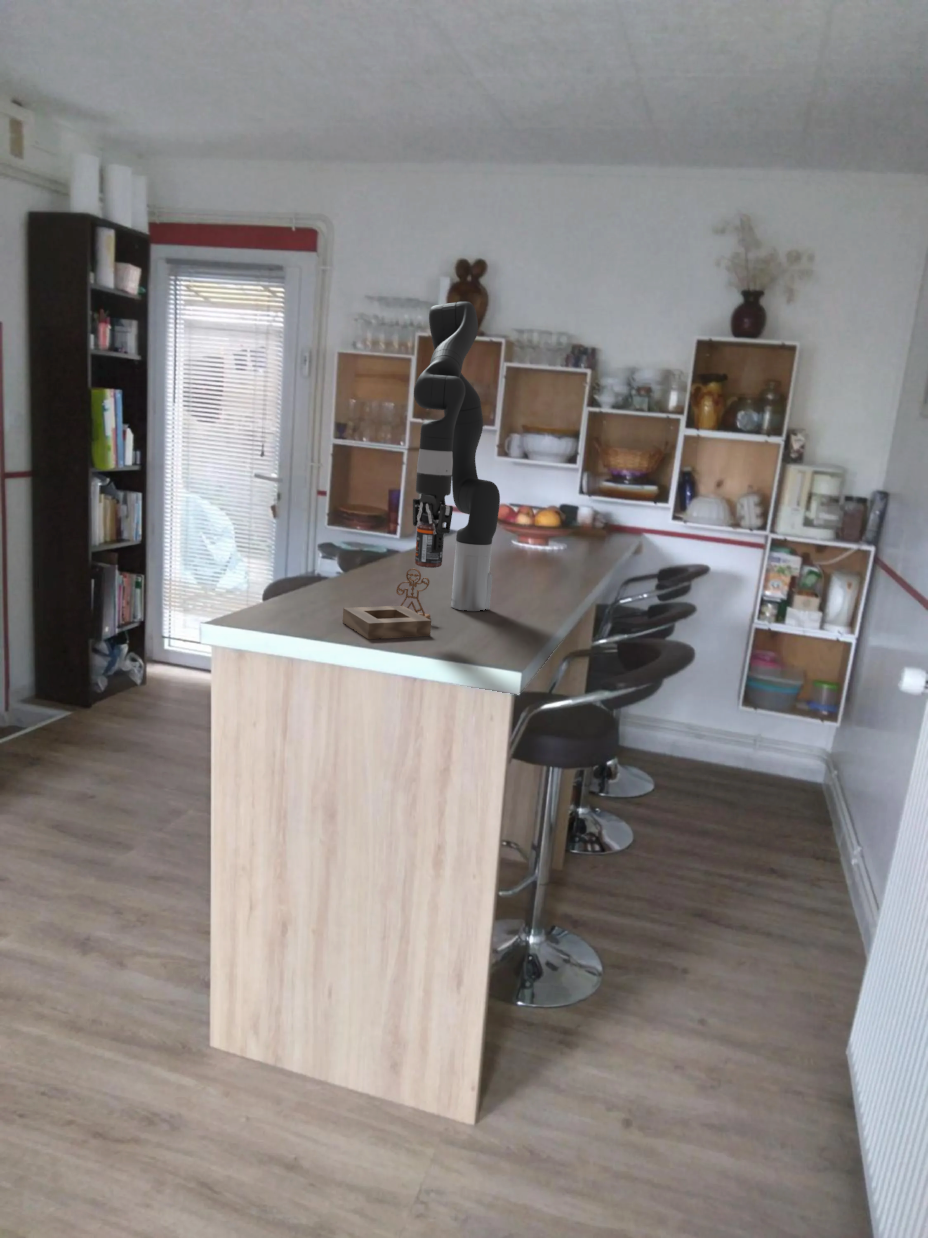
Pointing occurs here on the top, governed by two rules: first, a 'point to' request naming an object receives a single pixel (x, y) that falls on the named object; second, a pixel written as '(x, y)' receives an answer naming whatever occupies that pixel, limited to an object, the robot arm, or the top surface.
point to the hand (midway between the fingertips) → (429, 549)
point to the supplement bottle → (426, 545)
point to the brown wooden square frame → (386, 622)
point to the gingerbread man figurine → (412, 591)
